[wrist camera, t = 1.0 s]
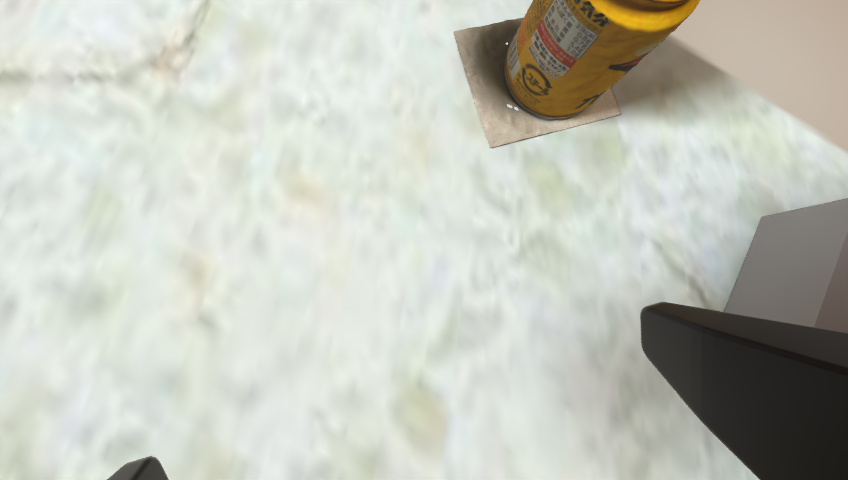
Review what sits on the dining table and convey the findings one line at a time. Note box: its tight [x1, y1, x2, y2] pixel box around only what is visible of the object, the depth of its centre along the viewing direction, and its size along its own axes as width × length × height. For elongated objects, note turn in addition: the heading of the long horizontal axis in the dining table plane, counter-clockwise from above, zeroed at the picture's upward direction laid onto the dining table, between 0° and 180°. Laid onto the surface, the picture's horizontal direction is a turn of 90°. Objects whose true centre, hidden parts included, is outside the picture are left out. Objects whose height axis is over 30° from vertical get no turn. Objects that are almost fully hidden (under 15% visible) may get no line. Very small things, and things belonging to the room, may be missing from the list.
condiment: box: [454, 0, 700, 148], centre depth 20 cm, size 7×8×12 cm
